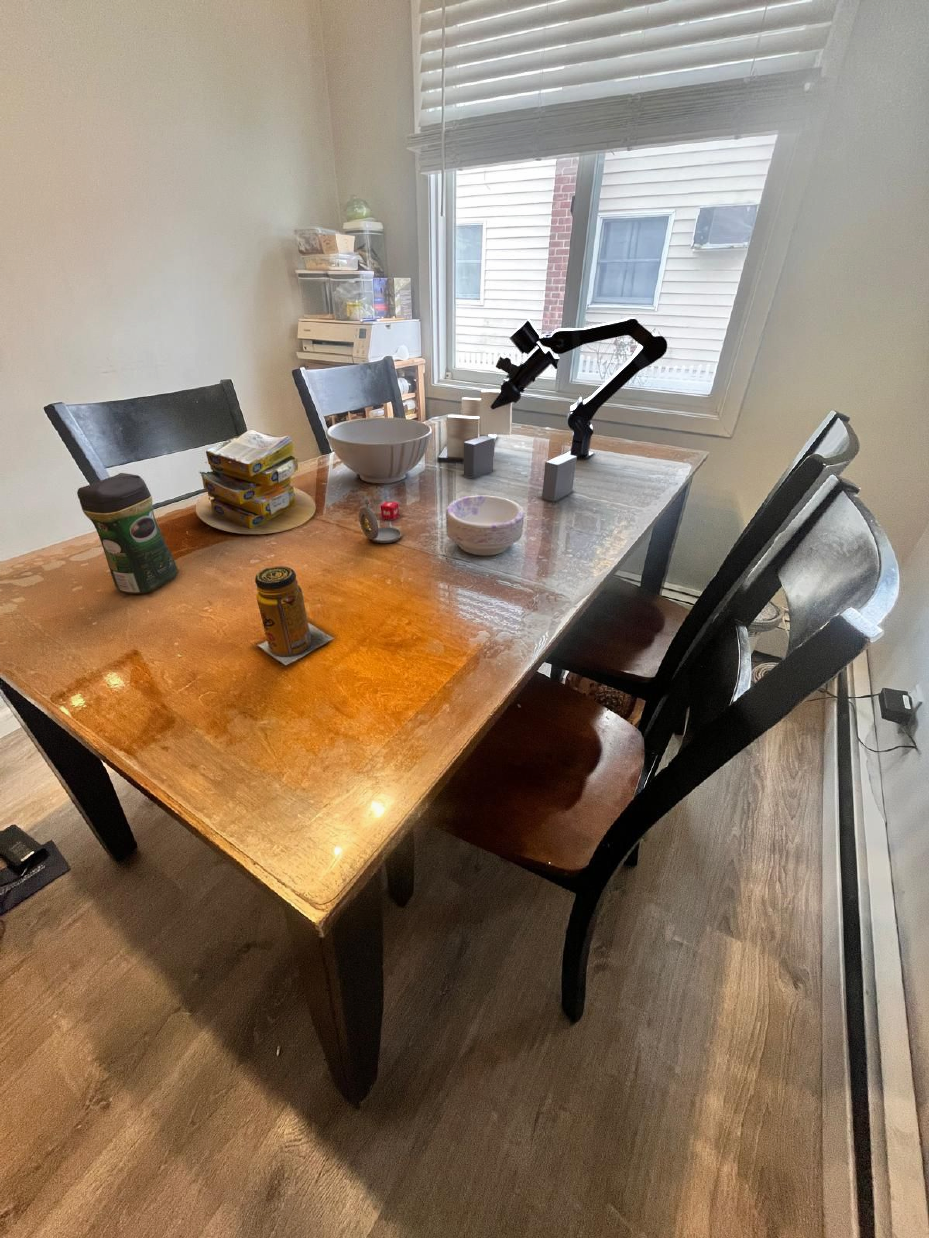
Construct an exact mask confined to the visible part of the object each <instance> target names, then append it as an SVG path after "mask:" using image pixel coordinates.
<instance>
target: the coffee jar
mask: <svg viewBox="0 0 929 1238" xmlns="http://www.w3.org/2000/svg"><path fill="white" fill-rule="evenodd" d="M76 495H77V499H78V500H79V504H80V507H81V510H82V512H83V514H84V515H85V516H86V517H87V519H89V520H90V521H91V523H92V524H93V526H94V528H95V530H96V532H97V534H98V535H97V536H99V537H98V538H99V541H100V544H101V546H102V549H103V552H104V555H105V558H106V562H107V565H108V569H109V572H110V576H111V578H112V581H113V584H114V586H115V588H116V589H117V590H119V591H120V592H123V593H125V594H129V595H139V594H141V595H142V594H148V593H151V592H153V591H155V590H157V589H159V588H161V587H163V586H164V585H166V584H167V583H169V582H170V581H171V580H173V579H175V578H176V577H177V575H178V573H179V568H178V566H177V564H176V563H177V562H176V561H175V559H174V556H173V555H172V553H171V550H170V549H169V546H168V545H167V542H166V540H165V538H164V535H163V533H162V531H161V529H160V527H159V525H158V522H157V519H156V516H155V513H154V508H153V496H152V494H151V492H150V490H149V488H148V486H147V484H146V481H145V480H144V479H143V478H142V477H141V476H140V475H138V474H133V473H126V472H119V473H118V474H115V475H113V476H110V477H107V478H104V479H101V480H99V481H96V482H94V483H91V484H88V485H85V486H81V487H78V489H77V491H76Z"/></svg>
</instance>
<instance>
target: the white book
mask: <svg viewBox="0 0 929 1238" xmlns="http://www.w3.org/2000/svg"><path fill="white" fill-rule="evenodd" d="M500 392H501V389H486V388H485V389H483V388H482V389H481V391H480V397H479V398H480V434H494V435H497V436H510V435H511V433H512V422H513V402H512V403H509V404H506V405H504V406H501V407H498V408H496V409H492V408H491V405H492V404H493V402H494V401H495V399H496V398H497V397H498V395H499V394H500Z"/></svg>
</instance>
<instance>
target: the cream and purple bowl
mask: <svg viewBox="0 0 929 1238" xmlns="http://www.w3.org/2000/svg"><path fill="white" fill-rule="evenodd" d="M524 517H525V511H524V509H523V507H521V505H520V504H518V503H517V502H515V501H513V500H510V499H508V498H505V497H502V496H501V497H500V496H496V495H495V496H494V495H469V496H464V497H460V498H458V499H455V500H453V501H452V502H450V503H449V504H448V506H447V508H446V510H445V519H446V520H445V523H446V524H445V530H446V532H445V533H446V535H447V537H448V538H449V539H450V540H451V541H453V542H454V543H456V544H457V546H458V547H459V548H460V549H461V550H463V551H464V552H466V553H468V554H471V555H475V556H482V557H483V556H485V557H487V556H494V555H497V554H498V555H499V554H501V553H503V552H505V551H506V550H508V548H509V547H510V546H512V545H513V544H515V543H517V542H518V541H519V540H520V539H521V538H522V535H523V529H524V520H525V519H524Z"/></svg>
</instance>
